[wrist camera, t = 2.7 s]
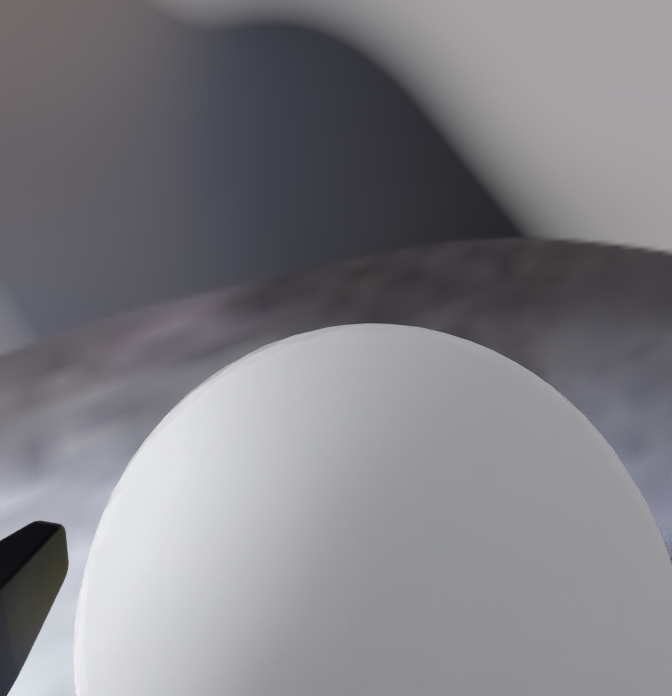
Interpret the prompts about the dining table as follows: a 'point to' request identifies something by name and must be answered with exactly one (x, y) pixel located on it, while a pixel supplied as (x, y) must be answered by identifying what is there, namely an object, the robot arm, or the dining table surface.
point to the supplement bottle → (375, 535)
